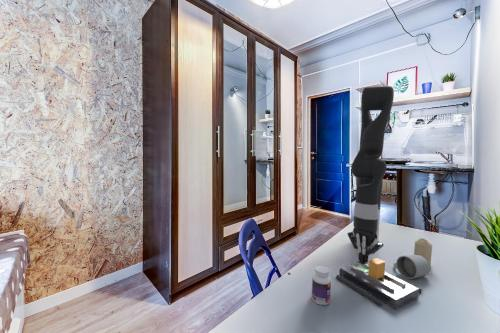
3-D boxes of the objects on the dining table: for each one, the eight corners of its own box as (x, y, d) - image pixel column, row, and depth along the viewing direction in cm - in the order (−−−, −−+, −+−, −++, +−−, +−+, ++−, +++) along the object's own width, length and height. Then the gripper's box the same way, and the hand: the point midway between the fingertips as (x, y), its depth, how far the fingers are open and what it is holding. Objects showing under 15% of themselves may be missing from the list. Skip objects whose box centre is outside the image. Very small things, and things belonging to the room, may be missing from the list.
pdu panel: (339, 275, 84) (339, 264, 83) (361, 267, 89) (361, 257, 89) (395, 309, 66) (396, 296, 66) (418, 297, 72) (419, 285, 71)
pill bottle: (330, 307, 67) (332, 275, 66) (311, 303, 68) (312, 272, 68) (329, 295, 72) (330, 265, 71) (311, 292, 74) (312, 263, 73)
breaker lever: (368, 274, 78) (369, 260, 77) (375, 271, 80) (376, 257, 79) (376, 279, 75) (377, 264, 75) (384, 276, 77) (385, 261, 77)
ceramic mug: (431, 278, 82) (432, 257, 82) (415, 283, 79) (417, 261, 79) (402, 265, 92) (403, 246, 92) (387, 268, 89) (388, 249, 89)
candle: (433, 267, 90) (435, 243, 89) (417, 266, 91) (419, 241, 90) (425, 261, 95) (427, 237, 94) (410, 259, 96) (412, 236, 95)
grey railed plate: (335, 278, 82) (336, 275, 82) (370, 266, 90) (370, 263, 90) (386, 310, 66) (386, 306, 66) (421, 292, 75) (421, 288, 74)
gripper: (342, 211, 84) (340, 257, 86) (376, 222, 73) (373, 275, 74) (356, 209, 88) (354, 253, 89) (391, 219, 76) (388, 269, 77)
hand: (363, 263), depth 82 cm, fingers closed
